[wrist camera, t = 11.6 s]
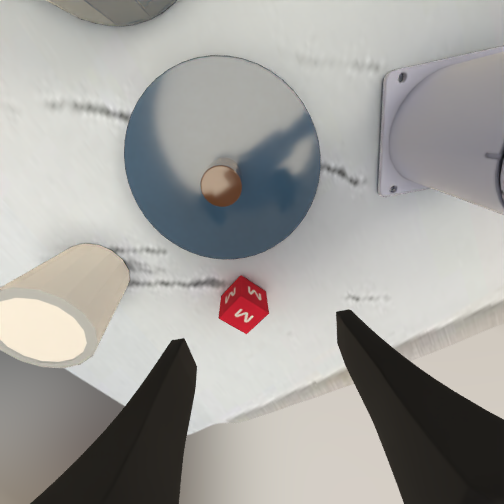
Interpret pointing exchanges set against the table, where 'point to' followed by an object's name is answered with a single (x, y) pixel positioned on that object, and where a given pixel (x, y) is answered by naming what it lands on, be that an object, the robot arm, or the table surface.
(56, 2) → the bowl
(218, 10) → the table surface
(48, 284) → the beige cup
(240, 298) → the red letter cube
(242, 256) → the lid
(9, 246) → the table surface
